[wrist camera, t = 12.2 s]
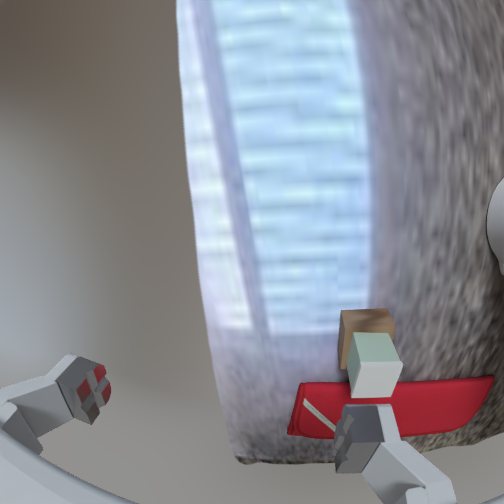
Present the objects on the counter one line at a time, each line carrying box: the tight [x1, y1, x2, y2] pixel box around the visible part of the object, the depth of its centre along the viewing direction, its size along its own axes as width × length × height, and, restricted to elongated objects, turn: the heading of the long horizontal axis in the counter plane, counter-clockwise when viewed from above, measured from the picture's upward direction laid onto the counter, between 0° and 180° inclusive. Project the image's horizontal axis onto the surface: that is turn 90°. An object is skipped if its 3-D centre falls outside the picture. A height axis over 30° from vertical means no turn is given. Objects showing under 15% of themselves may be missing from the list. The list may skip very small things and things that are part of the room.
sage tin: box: [346, 332, 403, 398], centre depth 34 cm, size 5×5×7 cm
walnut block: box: [337, 308, 396, 369], centre depth 39 cm, size 7×7×5 cm
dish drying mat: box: [287, 375, 495, 439], centre depth 45 cm, size 16×41×4 cm, turn 86°
